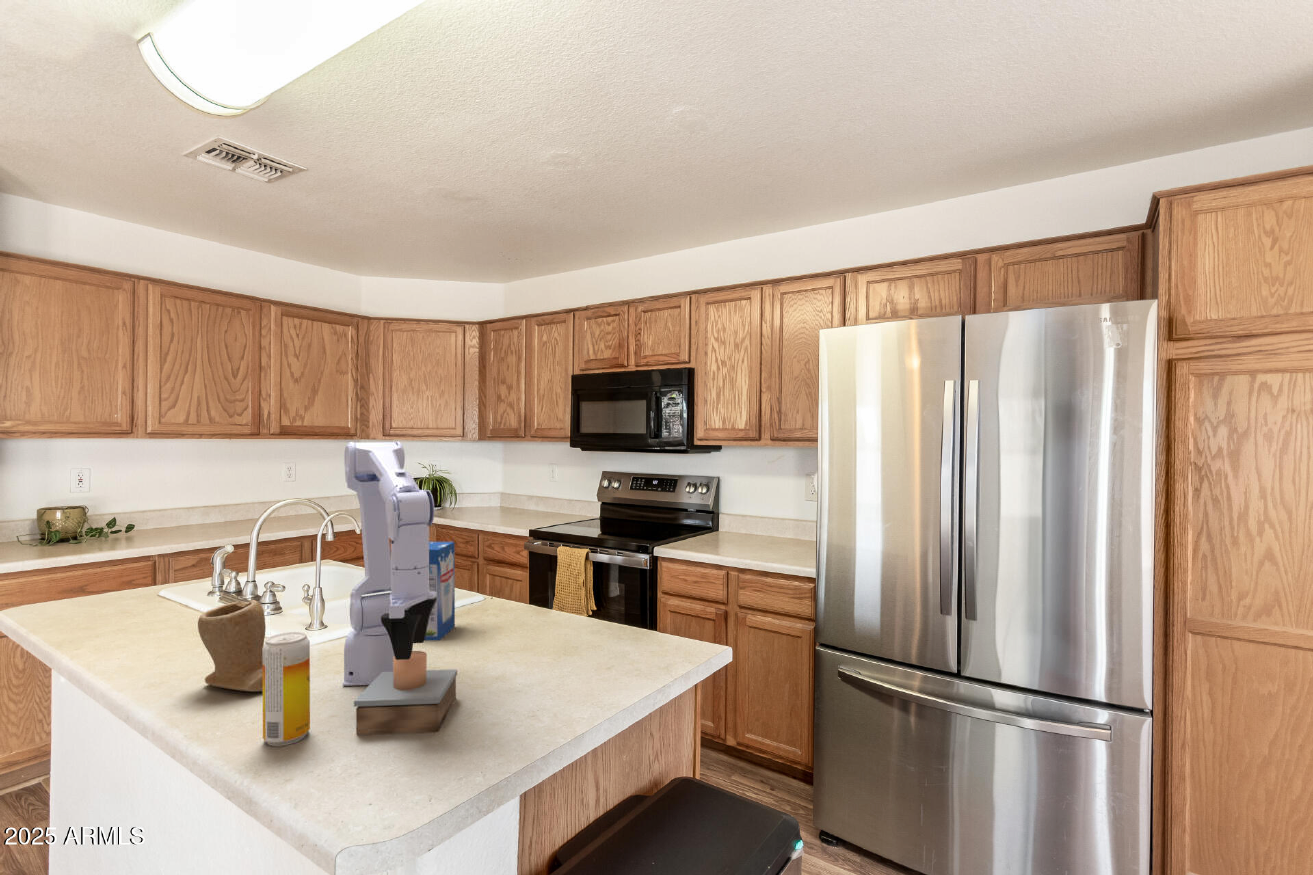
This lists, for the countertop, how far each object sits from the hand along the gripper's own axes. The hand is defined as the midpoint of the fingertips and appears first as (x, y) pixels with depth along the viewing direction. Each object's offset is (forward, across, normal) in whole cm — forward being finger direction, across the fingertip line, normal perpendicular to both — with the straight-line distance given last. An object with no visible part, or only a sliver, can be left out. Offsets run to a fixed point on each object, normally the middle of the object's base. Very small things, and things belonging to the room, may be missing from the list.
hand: (410, 650), depth 103 cm
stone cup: (+11, +14, +33) cm, 38 cm away
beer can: (+11, -6, +16) cm, 20 cm away
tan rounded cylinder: (+5, 0, 0) cm, 5 cm away
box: (+10, 0, 0) cm, 10 cm away
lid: (+6, -1, 0) cm, 6 cm away
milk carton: (+11, +43, +7) cm, 45 cm away
